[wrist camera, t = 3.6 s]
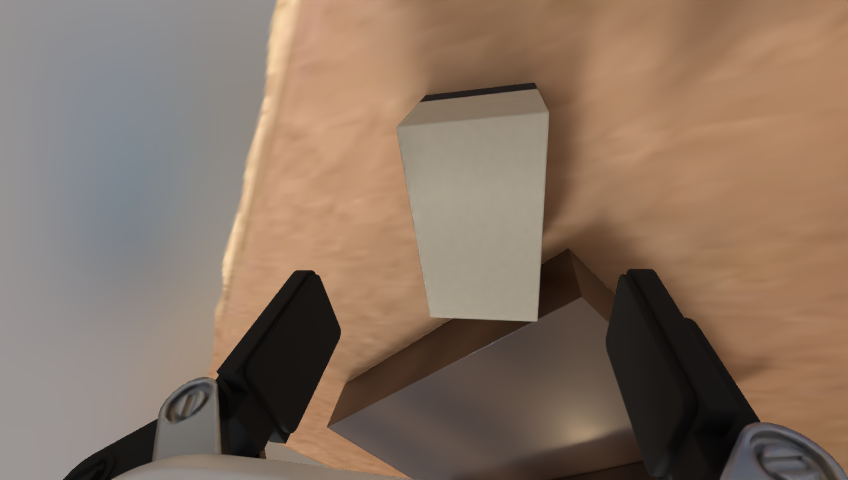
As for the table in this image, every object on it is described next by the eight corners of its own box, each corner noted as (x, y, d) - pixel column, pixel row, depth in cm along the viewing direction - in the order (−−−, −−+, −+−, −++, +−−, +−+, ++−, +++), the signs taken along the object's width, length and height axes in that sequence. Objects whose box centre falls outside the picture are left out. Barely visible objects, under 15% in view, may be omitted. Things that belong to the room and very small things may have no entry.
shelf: (568, 248, 19) (591, 329, 14) (712, 392, 23) (768, 493, 18) (344, 384, 32) (315, 452, 27) (463, 462, 36) (457, 534, 31)
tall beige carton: (425, 95, 16) (395, 126, 11) (535, 82, 15) (549, 111, 10) (446, 263, 21) (432, 329, 17) (529, 263, 20) (537, 334, 16)
